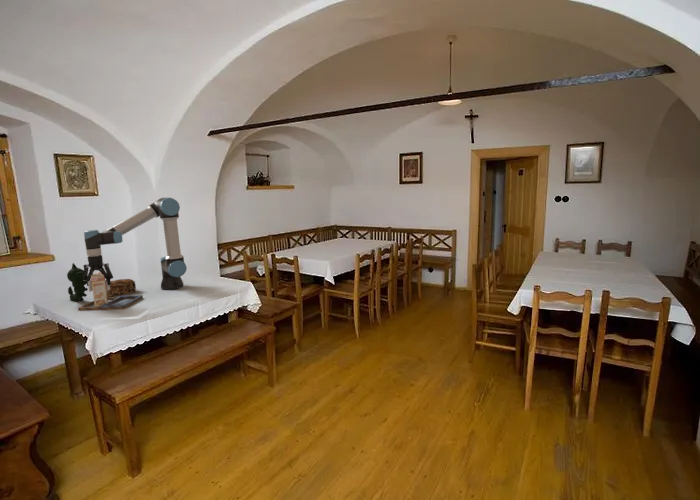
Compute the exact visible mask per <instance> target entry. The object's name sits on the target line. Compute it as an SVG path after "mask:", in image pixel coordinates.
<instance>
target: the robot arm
mask: <svg viewBox="0 0 700 500" xmlns="http://www.w3.org/2000/svg"><path fill="white" fill-rule="evenodd" d="M180 207H181V206H180V203H179V202H178V200H177V199H175V198H173V197H161V198H158V199H157V200H155V201H154V202H152V203H151V204H149V205H148V207H147V208H145V209H143V210H142V211H139V212H138V213H136V214H134V215H132V216H131V217H129V218H128V217H127V218H126V219H124V220H123V221H121V222H119V223H118V224H116V225H114V226H112V227H110V228H108V229H105V230H103V231H102V232H100V231H99V230H98V229H90V230H89V229H88V230H85V231H84V233H83V235H84V243H85V249H86V256H87V262H88V263H86V264H84V265H83V270H84V273H83V280H84V281H86V282H87V284H86V287H88V292H93V290H92V282H91V275H93V273H95V271H99V272H101V273H102V275H104V277H105V283H106V290H107V291H109V290H110V285H111V281H112V279H113V278H114V275H113V273H112V271H111V269H110V266H109V263H108V262H107V263H104V261H103V255H102V254H103V253H102V248H101V246H105V245H115V244H120V243H123V236H124V235H126V234H127V233H129V232H131V231H133V230H135V229H136V228H138V227H140V226H142V225H144V224H145V223H147V222H149V221H150V220H153V219H154V218H159V219H161V220H162V223H163V231H164V239H165V246H166V249H165V250H166V256H162V257H161V258H160V261H159V262H160V266H161V275H162V279H161V282H160V289H161V290H164V291H171V290H178V289H181V288H183V287H185V285H184V281H183V279H182V276H184V274H185V273H186V272H187V269H188V268H187V264H186V263H185V259H184V257H185V256H184V255H182V254H181V253H182V252H181V244H180V236H179V235H180V234H179V227H178V219H179V217H180V216H179V215H180V214H179V212H180Z"/></svg>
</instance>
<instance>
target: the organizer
mask: <svg viewBox="0 0 700 500" xmlns="http://www.w3.org/2000/svg"><path fill="white" fill-rule="evenodd" d="M143 296H144V295H143V294H142V295H141V294H140V295H139V294H137V295H135V294H134V295H119V296H111V297H107V298H108V303H106V304H104V305H102V306H100V307H95V306H92V305H94V300H93V301H90V302H88V303H86V304H84V305H82V306H79V307H78V308H77V309H78V311H98V310H103V311H104V310H125V309H127V308H129V307H130V306H132V305H134V304H135V303H137V302H139V301H141V300H142V299H143V298H144V297H143Z"/></svg>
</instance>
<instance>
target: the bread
mask: <svg viewBox="0 0 700 500" xmlns="http://www.w3.org/2000/svg"><path fill="white" fill-rule="evenodd" d="M110 281H111V285H110V290H109V291H107V297H119V296H125V295H127V294H128V295H129V294H131V293H136V291H137V287H136V282H135V280H134V279H131V278H123V279H121V278H120V279H115V280H110Z"/></svg>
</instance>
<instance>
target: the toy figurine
mask: <svg viewBox="0 0 700 500" xmlns="http://www.w3.org/2000/svg"><path fill="white" fill-rule="evenodd" d="M83 273H84V269H82V268H81V267H80V268H79V267H77V266H76V264H75V263H74V262H73V263H72V264H71V269H70V270H68V272H67V273H66V277H67V280H68V281H69V282H71V285H72V286H69V287H68V288H67V292H68V293H67V294H68V295H69V301H73V302H76V303H79V302H80V301H84V298H86V297H87V296H88V295H87V294H86V293H85V292H86V291H89V287H88V288H87V287H85V285H86V286H87V282H86V281H85V280H83Z"/></svg>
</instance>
